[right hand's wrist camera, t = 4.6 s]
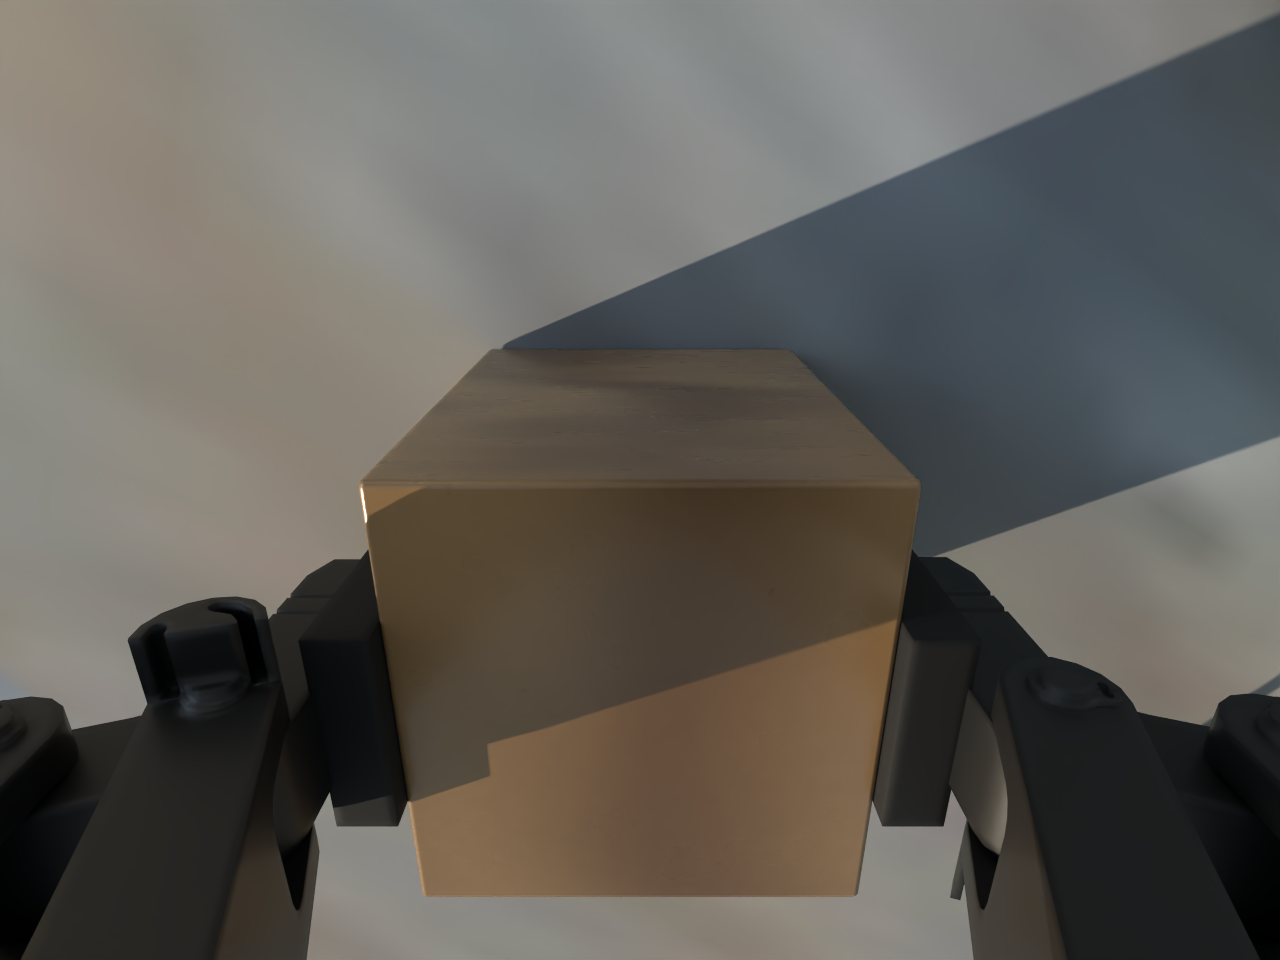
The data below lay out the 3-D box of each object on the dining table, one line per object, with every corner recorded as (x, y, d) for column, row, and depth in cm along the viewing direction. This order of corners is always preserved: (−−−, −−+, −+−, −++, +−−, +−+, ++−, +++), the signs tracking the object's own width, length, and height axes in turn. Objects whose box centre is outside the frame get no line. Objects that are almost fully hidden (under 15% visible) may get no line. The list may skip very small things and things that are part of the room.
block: (509, 615, 16) (420, 900, 10) (488, 348, 14) (355, 480, 7) (770, 615, 16) (859, 900, 10) (792, 348, 14) (925, 481, 7)
